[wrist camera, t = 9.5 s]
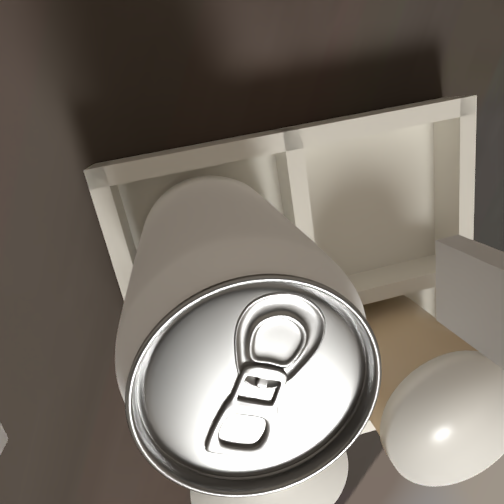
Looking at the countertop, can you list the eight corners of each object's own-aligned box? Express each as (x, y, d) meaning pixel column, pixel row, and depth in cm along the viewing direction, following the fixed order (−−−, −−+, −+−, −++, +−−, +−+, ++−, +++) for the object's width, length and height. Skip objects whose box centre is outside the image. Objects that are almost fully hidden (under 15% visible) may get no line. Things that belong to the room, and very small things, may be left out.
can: (292, 196, 20) (447, 296, 9) (251, 311, 21) (337, 522, 10) (162, 154, 18) (148, 213, 7) (127, 283, 20) (70, 500, 9)
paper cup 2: (331, 397, 24) (392, 503, 18) (320, 304, 22) (385, 385, 15) (428, 370, 25) (522, 462, 18) (426, 277, 23) (532, 344, 16)
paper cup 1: (198, 434, 23) (209, 561, 17) (172, 340, 21) (173, 444, 14) (303, 404, 24) (354, 515, 17) (288, 311, 22) (340, 397, 15)
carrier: (180, 451, 24) (181, 486, 22) (94, 163, 18) (83, 170, 16) (443, 377, 26) (469, 402, 24) (443, 97, 20) (476, 95, 18)
